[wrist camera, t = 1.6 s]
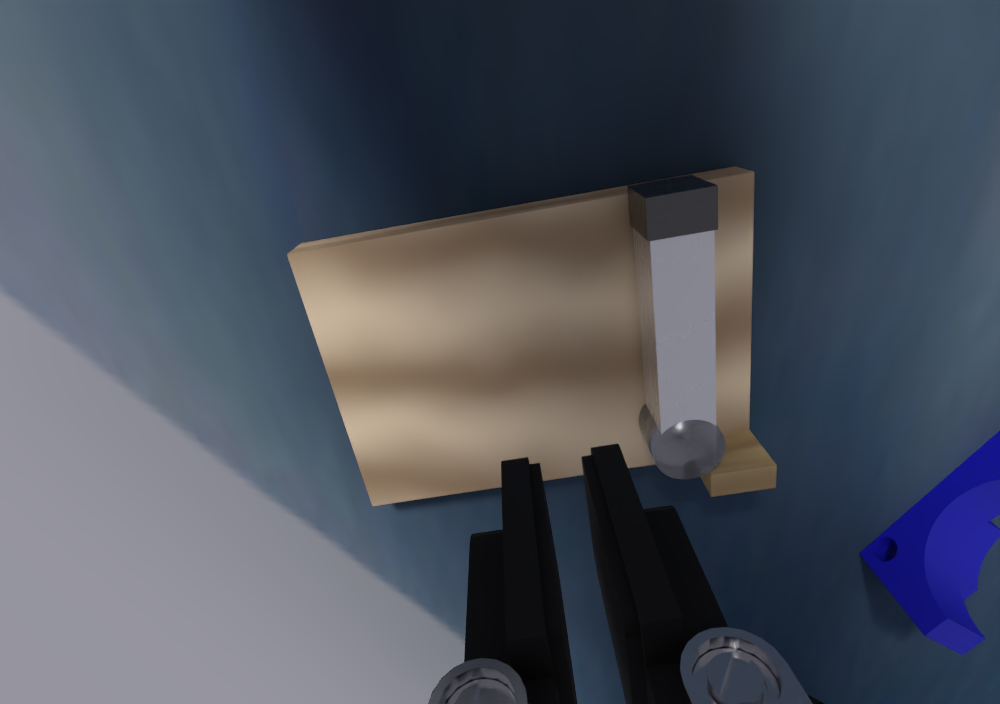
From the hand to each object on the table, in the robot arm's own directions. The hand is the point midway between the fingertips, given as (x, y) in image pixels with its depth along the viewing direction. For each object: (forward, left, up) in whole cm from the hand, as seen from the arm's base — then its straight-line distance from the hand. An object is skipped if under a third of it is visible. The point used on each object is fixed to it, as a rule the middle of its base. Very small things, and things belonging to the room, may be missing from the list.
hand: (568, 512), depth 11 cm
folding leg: (+3, +6, -15) cm, 16 cm away
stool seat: (+4, 0, -17) cm, 18 cm away
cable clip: (+19, +23, -18) cm, 35 cm away
